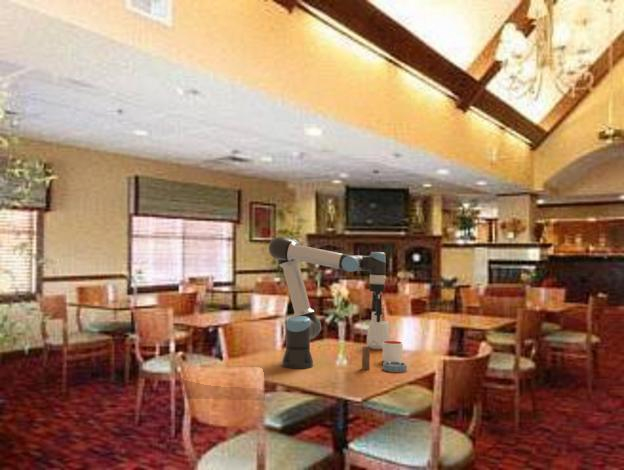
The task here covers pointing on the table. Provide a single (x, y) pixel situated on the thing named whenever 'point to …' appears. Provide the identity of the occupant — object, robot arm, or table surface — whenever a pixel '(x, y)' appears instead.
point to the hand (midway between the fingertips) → (375, 326)
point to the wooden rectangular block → (365, 357)
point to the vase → (378, 335)
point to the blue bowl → (394, 366)
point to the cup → (392, 351)
